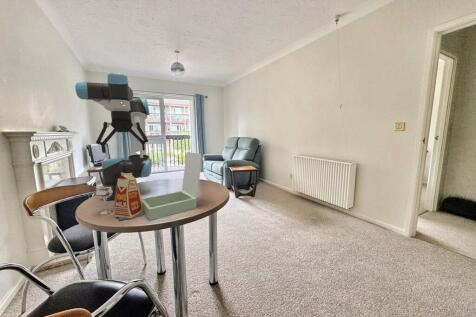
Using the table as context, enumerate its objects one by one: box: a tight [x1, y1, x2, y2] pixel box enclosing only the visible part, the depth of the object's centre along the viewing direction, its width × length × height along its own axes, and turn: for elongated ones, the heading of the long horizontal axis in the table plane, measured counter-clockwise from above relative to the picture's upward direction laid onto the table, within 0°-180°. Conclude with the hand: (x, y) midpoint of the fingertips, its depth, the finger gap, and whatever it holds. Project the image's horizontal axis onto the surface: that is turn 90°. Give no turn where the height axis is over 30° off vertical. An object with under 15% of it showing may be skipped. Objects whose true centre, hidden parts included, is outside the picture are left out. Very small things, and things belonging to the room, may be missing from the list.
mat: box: [117, 211, 145, 222], centre depth 92 cm, size 10×10×1 cm
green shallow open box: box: [141, 190, 197, 221], centre depth 99 cm, size 18×22×5 cm
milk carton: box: [113, 173, 143, 219], centre depth 91 cm, size 9×9×20 cm
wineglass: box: [95, 186, 113, 215], centre depth 95 cm, size 7×7×12 cm
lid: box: [181, 151, 205, 199], centre depth 106 cm, size 18×22×2 cm
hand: (125, 159), depth 89 cm, fingers open, 13 cm apart
